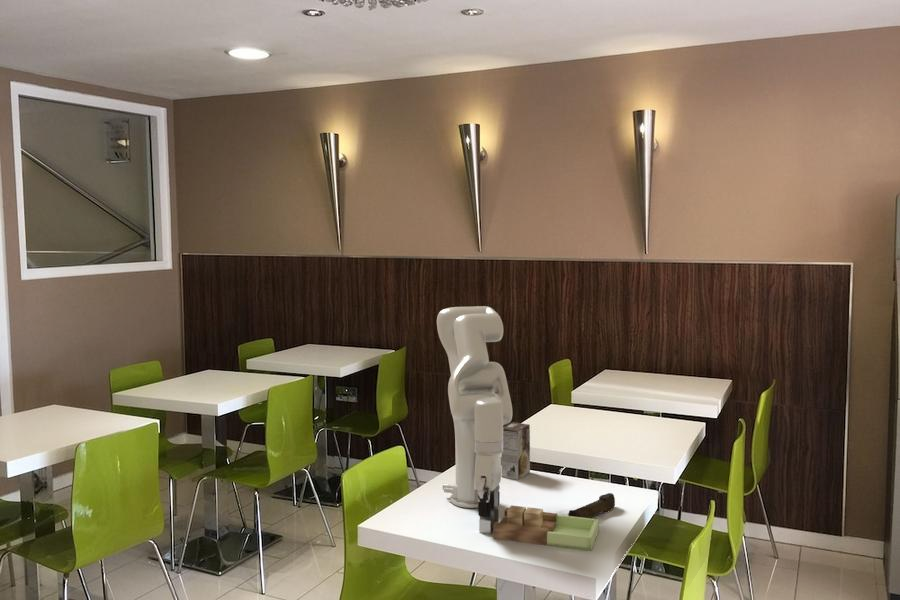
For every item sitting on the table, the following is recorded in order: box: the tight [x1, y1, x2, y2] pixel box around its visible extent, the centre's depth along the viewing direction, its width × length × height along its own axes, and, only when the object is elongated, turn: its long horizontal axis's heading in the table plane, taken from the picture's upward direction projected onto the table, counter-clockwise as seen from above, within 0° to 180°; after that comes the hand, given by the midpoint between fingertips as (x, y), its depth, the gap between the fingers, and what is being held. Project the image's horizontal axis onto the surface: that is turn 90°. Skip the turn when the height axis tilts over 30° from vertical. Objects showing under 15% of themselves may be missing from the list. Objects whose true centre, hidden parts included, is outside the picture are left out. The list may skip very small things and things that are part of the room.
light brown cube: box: [507, 505, 527, 525], centre depth 201 cm, size 4×4×4 cm
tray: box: [546, 514, 600, 551], centre depth 196 cm, size 11×13×3 cm
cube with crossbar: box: [478, 486, 500, 535], centre depth 203 cm, size 4×8×12 cm, turn 161°
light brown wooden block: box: [524, 506, 544, 527], centre depth 200 cm, size 4×4×4 cm
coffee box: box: [500, 421, 531, 480], centre depth 248 cm, size 9×6×16 cm
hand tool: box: [567, 492, 616, 518], centre depth 212 cm, size 19×4×5 cm, turn 131°
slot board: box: [492, 507, 558, 546], centre depth 200 cm, size 14×13×4 cm
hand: (489, 510), depth 203 cm, fingers open, 7 cm apart
